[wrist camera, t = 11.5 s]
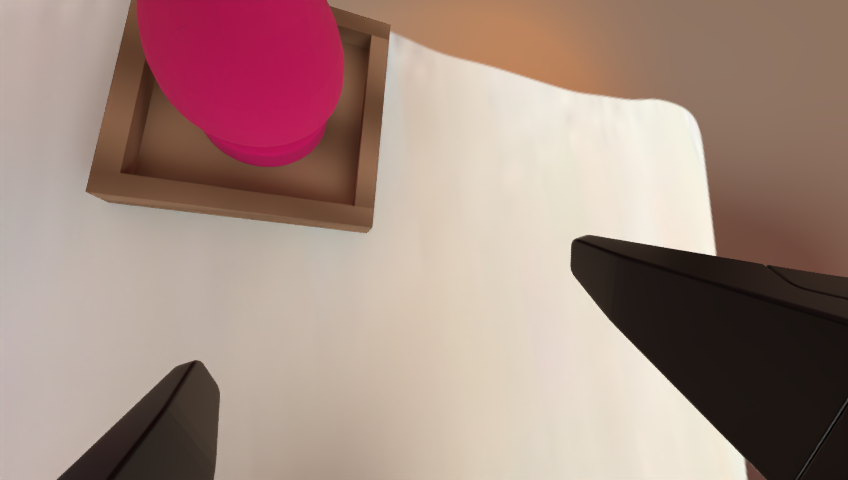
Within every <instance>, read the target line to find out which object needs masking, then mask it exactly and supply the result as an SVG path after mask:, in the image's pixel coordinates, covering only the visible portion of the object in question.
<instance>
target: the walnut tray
mask: <svg viewBox="0 0 848 480" xmlns="http://www.w3.org/2000/svg"><path fill="white" fill-rule="evenodd" d="M329 7H330V9H331V11H332V13H333V15H334V18H335V20H336V23H337V27H338V31H339V34H340V38H341V42H342V47H343V51H344V76H343V87H342V92H341V96H340V98H339V101H338V103H337V105H336V108H335V110H334V111H333V113H332V114H331V116H330V117H329V119H328V120H327V124H326V129H325V132H324V135H323V137H322V139H321V140H320V142H319V144H318V145H317V146H316V147H315V148H314V149H313V150H312V152H311V153H309V154H308V155H306V156H305V157H303V158H302V159H300V160H298V161H295V162H293V163H291V164H287V165H283V166H277V167H261V166H254V165H250V164H246V163H243V162H240V161H238V160H236V159H234V158H232V157H230V156H228V155H226V154H225V153H224V152H222V151H221V150H220V149H218V148H217V147H216V146H215V145H214V144H213V143H212V142H211V141H210V139H209V138H208V137H207V136H206V134H205V132H204V131H203V130H202V129H200V128H199V127H197V126H196V125H194V124H193V123H191V122H190V121H189V120H188V119H187V118H185V117H184V116H183V115H182V114H181V113H180V112H179V111H178V110H177V109H176V108H175V107H174V106H173V105H172V104H171V103H170V101H169V100H168V99H167V97H166V96H165V94H164V93H163V92H162V90H161V88H160V86H159V84H158V82H157V81H156V79H155V77H154V75H153V73H152V71H151V69H150V67H149V65H148V63H147V61H146V57H145V54H144V51H143V47H142V44H141V39H140V33H139V27H138V21H137V0H131V3H130V8H129V12H128V16H127V20H126V24H125V29H124V33H123V37H122V41H121V45H120V50H119V54H118V58H117V62H116V66H115V71H114V75H113V79H112V83H111V87H110V92H109V96H108V100H107V104H106V108H105V112H104V117H103V121H102V125H101V129H100V133H99V138H98V142H97V146H96V150H95V154H94V159H93V163H92V167H91V171H90V175H89V180H88V184H87V188H86V192H87V193H89V194H92V195H94V196H96V197H98V198H100V199H103V200H105V201H107V202H110V203H118V204H127V205H135V206H144V207H152V208H160V209H169V210H177V211H186V212H194V213H203V214H211V215H219V216H228V217H236V218H245V219H253V220H261V221H270V222H278V223H287V224H295V225H304V226H312V227H320V228H329V229H337V230H346V231H354V232H363V233H367V232H368V231H369V230H370V229H371V228H372V224H373V213H374V202H375V191H376V180H377V168H378V157H379V146H380V135H381V124H382V113H383V102H384V90H385V79H386V68H387V57H388V46H389V35H390V25H389V24H386V23H383V22H379V21H376V20H373V19H369V18H366V17H363V16H360V15H357V14H353V13H350V12H347V11H343V10H340V9H337V8H334V7H331V6H329Z"/></svg>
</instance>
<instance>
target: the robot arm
mask: <svg viewBox="0 0 848 480" xmlns="http://www.w3.org/2000/svg"><path fill="white" fill-rule="evenodd" d="M570 266H571V271H572V273H573V275H574V276H575V278H576V279H577V280H578V281H579V283H580V284H581V285H582V286H583V288H584V289H585V290H586V291H587V293H588V294H589V295H590V296H591V298H592V299H593V300H594V301H595V303H596V304H597V305H598V306H599V308H600V309H601V310H602V311H603V313H604V314H605V315H606V316H607V317H608V318H609V320H610V321H611V322H612V323H613V324H614V325H615V326H616V327H617V328H618V329H619V330H620V331H621V332H622V333H623V334H624V335H625V336H626V337H627V338H628V339H629V340H630V341H631V342H632V343H633V344H634V345H635V346H636V348H637V349H638V350H639V351H640V352H641V353H642V354H643V355H644V356H645V357H646V358H647V359H648V360H649V361H650V362H651V363H652V364H653V365H654V366H655V367H656V368H657V369H658V370H659V371H660V372H661V373H662V374H663V375H664V376H665V377H666V378H667V379H668V380H669V381H670V382H671V383H672V384H673V385H674V386H675V387H676V388H677V389H678V390H679V391H680V392H681V393H682V394H683V395H684V396H685V397H686V399H687V400H688V401H689V402H690V403H691V404H692V405H693V406H694V407H695V408H696V409H697V410H698V411H699V412H700V413H701V414H702V415H703V416H704V417H705V418H706V419H707V420H708V421H709V422H710V423H711V424H712V425H713V426H714V427H715V428H716V429H717V430H718V431H719V432H720V433H721V434H722V435H723V436H724V437H725V438H726V439H727V440H728V441H729V442H730V443H731V444H732V445H733V446H734V447H735V448H736V449H737V451H738V452H739V453H740V454H741V455H742V456H743V457H744V458H745V459H746V460H747V461H748V462H749V463H750V464H751V465H752V466H753V467H754V468H755V469H756V470H757V471H758V472H759V473H760V474H761V475H762V476H763V477H764V478H765V479H766V480H848V277H841V276H834V275H827V274H820V273H814V272H807V271H802V270H795V269H789V268H783V267H777V266H771V265H766V266H765V265H763V264H759V263H753V262H747V261H741V260H735V259H729V258H723V257H718V256H712V255H706V254H700V253H694V252H688V251H682V250H676V249H670V248H664V247H658V246H652V245H646V244H640V243H634V242H629V241H623V240H617V239H611V238H605V237H599V236H593V235H585V236H582V237H579V238H576V239H574V240H573V242H572V244H571V265H570ZM219 403H220V392H219V388H218V385H217V384H216V382H215V381H214V379H213V378H212V376H211V375H210V373H209V372H208V370H207V369H206V367H205V366H204V364H203V363H202V362H201V361H198V360H194V361H191V362H188V363H185V364H182V365H179V366H177V367H175V368H174V369H173V370H172V371H171V372H170V373H169V374H167V375H166V376H165V377H164V378H163V379H162V380H161V381H160V382H159V383H158V384H157V385H156V386H155V387H154V388H153V389H152V390H151V391H150V392H149V393H148V394H146V395H145V396H144V397H143V398H142V399H141V400H140V401H139V402H138V403H137V404H136V405H135V406H134V407H133V408H132V409H131V410H130V411H129V412H128V413H126V414H125V415H124V416H123V417H122V418H121V419H120V420H119V421H118V422H117V423H116V424H115V425H114V426H113V427H112V428H111V429H110V430H109V431H108V432H106V433H105V434H104V435H103V436H102V437H101V438H100V439H99V440H98V441H97V442H96V443H95V444H94V445H93V446H92V447H91V448H90V449H89V450H88V451H87V452H85V453H84V454H83V455H82V456H81V457H80V458H79V459H78V460H77V461H76V462H75V463H74V464H73V465H72V466H71V467H70V468H69V469H68V470H67V471H65V472H64V473H63V474H62V475H61V476H60V477H59V478H58V479H57V480H214V473H215V466H216V455H217V437H218V420H219Z"/></svg>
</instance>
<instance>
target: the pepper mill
mask: <svg viewBox="0 0 848 480" xmlns="http://www.w3.org/2000/svg"><path fill="white" fill-rule="evenodd" d="M137 21H138V27H139V33H140V39H141V44H142V47H143V51H144V54H145V57H146V61H147V63H148V65H149V67H150V69H151V71H152V73H153V75H154V77H155V79H156V81H157V82H158V84H159V86H160V88H161V90H162V92H163V93H164V94H165V96H166V97H167V99H168V100H169V101H170V103H171V104H172V105H173V106H174V107H175V108H176V109H177V110H178V111H179V112H180V113H181V114H182V115H183V116H184V117H185V118H187V119H188V120H189V121H190V122H191V123H193V124H194V125H196V126H197V127H199V128H200V129H202V130H203V131H204V132H205V134H206V136H207V137H208V138H209V139H210V141H211V142H212V143H213V144H214V145H215V146H216V147H217V148H218V149H220V150H221V151H222V152H224V153H225V154H226V155H228V156H230V157H232V158H234V159H236V160H238V161H240V162H243V163H246V164H250V165H254V166H261V167H277V166H283V165H287V164H291V163H293V162H295V161H298V160H300V159H302V158H303V157H305V156H306V155H308V154H309V153H311V152H312V150H313V149H314V148H315V147H316V146H317V145H318V144H319V142H320V140H321V139H322V137H323V135H324V132H325V129H326V124H327V120H328V119H329V117H330V116H331V114H332V113H333V111H334V110H335V108H336V105H337V103H338V101H339V98H340V96H341V92H342V87H343V76H344V51H343V47H342V42H341V38H340V34H339V31H338V27H337V23H336V20H335V18H334V15H333V13H332V11H331V9H330V7H329V5H328V3H327V1H326V0H137Z"/></svg>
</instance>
